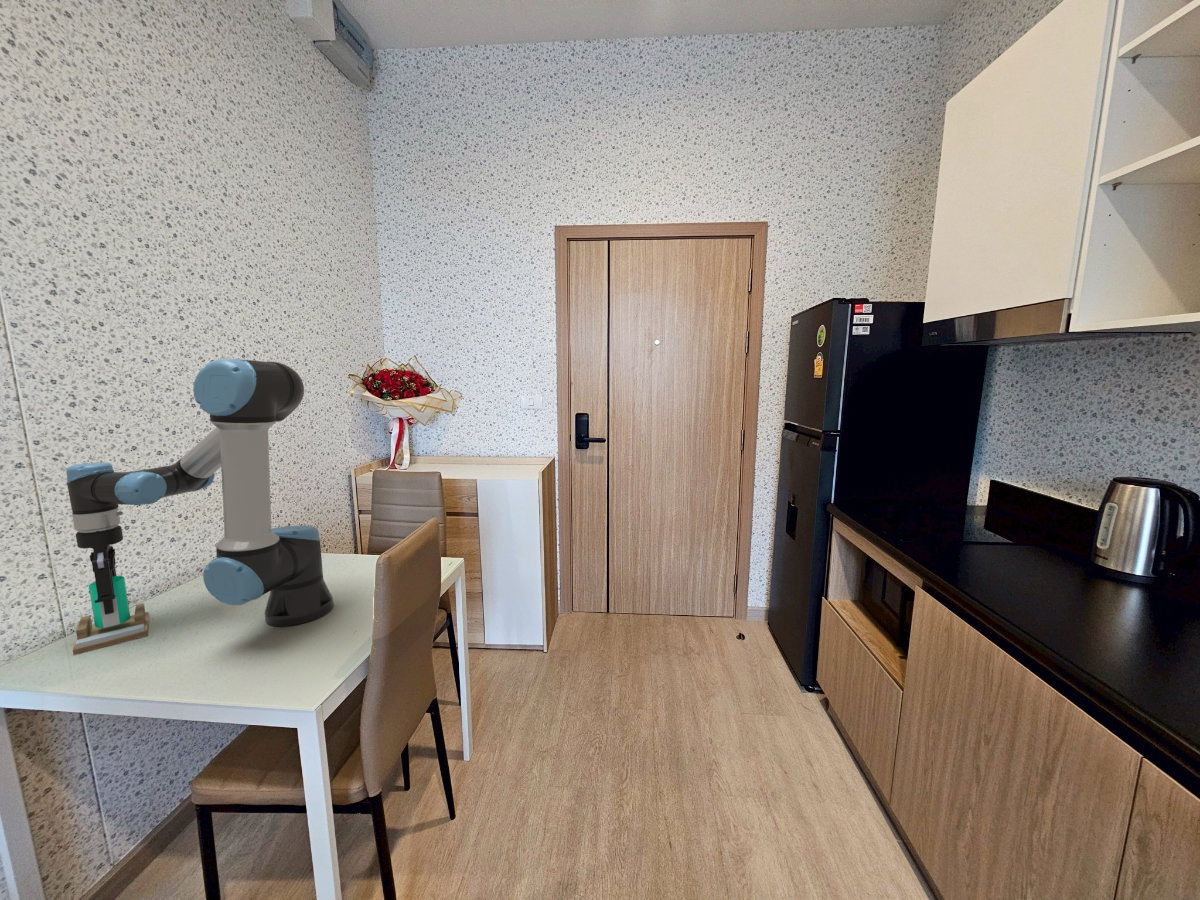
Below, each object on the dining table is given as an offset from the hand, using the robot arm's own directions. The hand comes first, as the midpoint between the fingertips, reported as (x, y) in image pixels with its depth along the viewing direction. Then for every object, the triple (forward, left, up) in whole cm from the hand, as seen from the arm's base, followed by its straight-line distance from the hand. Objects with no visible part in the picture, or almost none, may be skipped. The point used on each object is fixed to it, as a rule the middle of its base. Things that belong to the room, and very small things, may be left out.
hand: (113, 620), depth 115 cm
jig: (-1, 0, -3) cm, 3 cm away
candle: (0, 0, -1) cm, 1 cm away
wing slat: (-6, 0, -2) cm, 7 cm away
